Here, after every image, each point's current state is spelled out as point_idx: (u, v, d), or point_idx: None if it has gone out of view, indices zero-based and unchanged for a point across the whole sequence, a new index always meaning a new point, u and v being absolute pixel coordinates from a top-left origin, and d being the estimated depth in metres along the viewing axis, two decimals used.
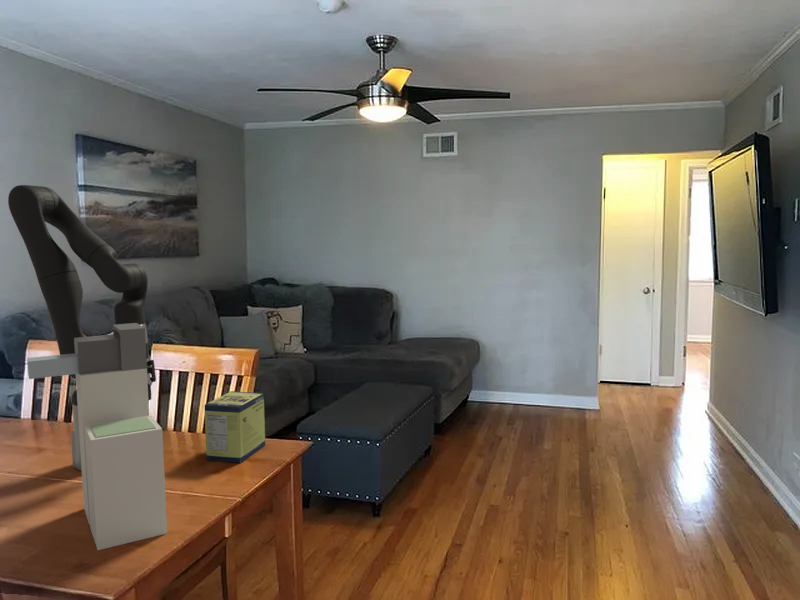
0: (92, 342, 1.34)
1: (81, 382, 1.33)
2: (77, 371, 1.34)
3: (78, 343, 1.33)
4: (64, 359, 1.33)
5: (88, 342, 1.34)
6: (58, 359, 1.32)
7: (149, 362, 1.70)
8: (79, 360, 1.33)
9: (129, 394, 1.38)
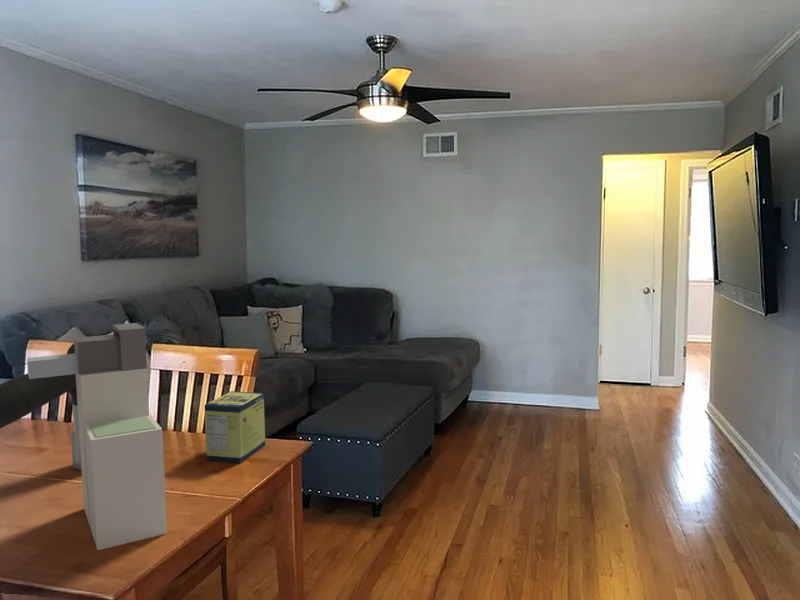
0: (92, 342, 1.34)
1: (81, 382, 1.33)
2: (77, 371, 1.34)
3: (78, 343, 1.33)
4: (64, 359, 1.33)
5: (88, 342, 1.34)
6: (58, 359, 1.32)
7: None
8: (79, 360, 1.33)
9: (129, 394, 1.38)
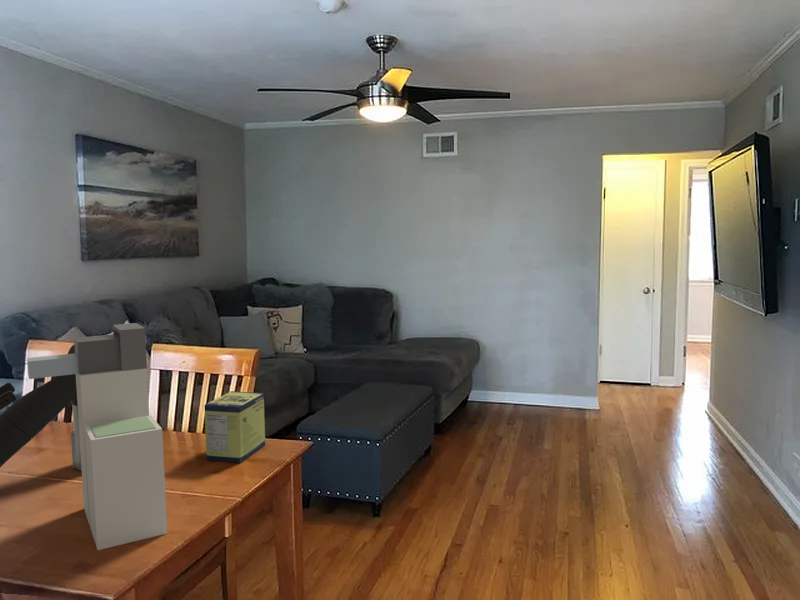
0: (92, 342, 1.34)
1: (81, 382, 1.33)
2: (77, 371, 1.34)
3: (78, 343, 1.33)
4: (64, 359, 1.33)
5: (88, 342, 1.34)
6: (58, 359, 1.32)
7: None
8: (79, 360, 1.33)
9: (129, 394, 1.38)
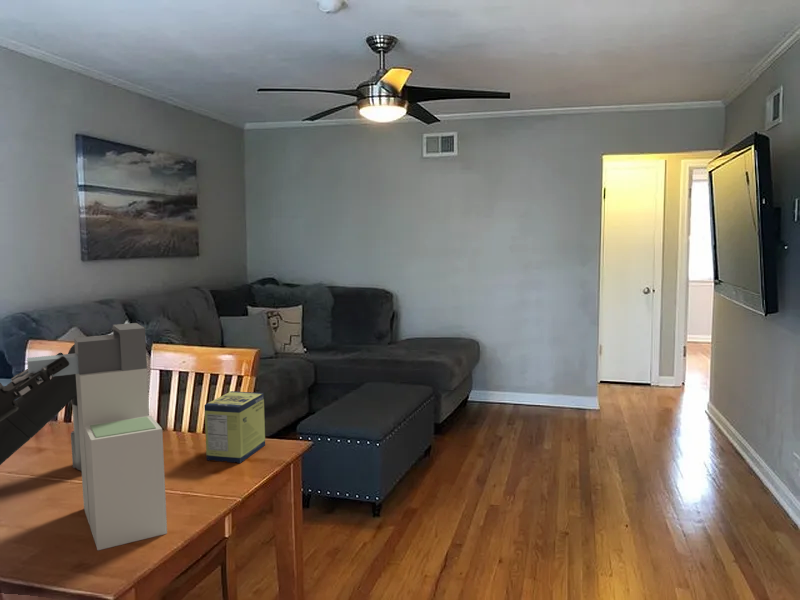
0: (92, 342, 1.34)
1: (81, 382, 1.33)
2: (77, 371, 1.34)
3: (78, 343, 1.33)
4: None
5: (88, 342, 1.34)
6: None
7: None
8: (79, 360, 1.33)
9: (129, 394, 1.38)
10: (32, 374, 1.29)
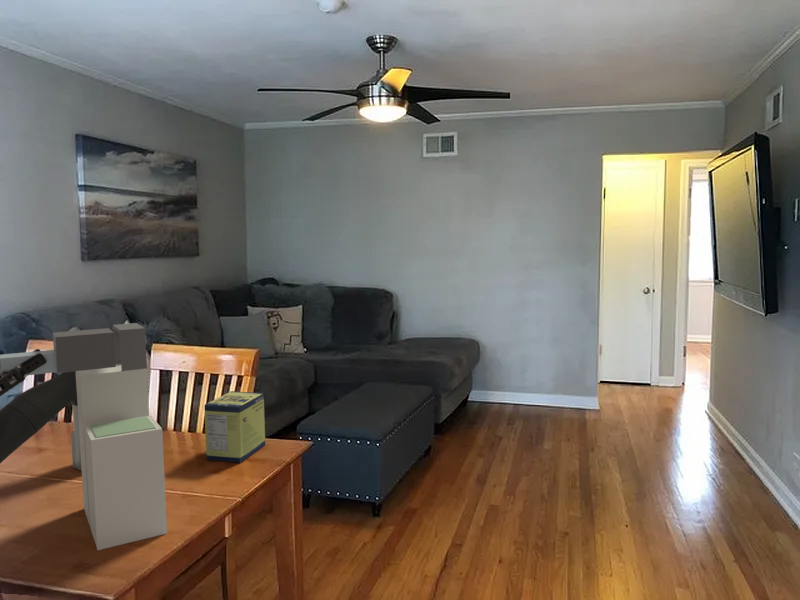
0: (72, 337, 1.21)
1: (81, 382, 1.33)
2: (55, 369, 1.21)
3: (56, 338, 1.20)
4: None
5: (67, 337, 1.21)
6: None
7: None
8: (57, 357, 1.20)
9: (129, 394, 1.38)
10: (4, 373, 1.16)
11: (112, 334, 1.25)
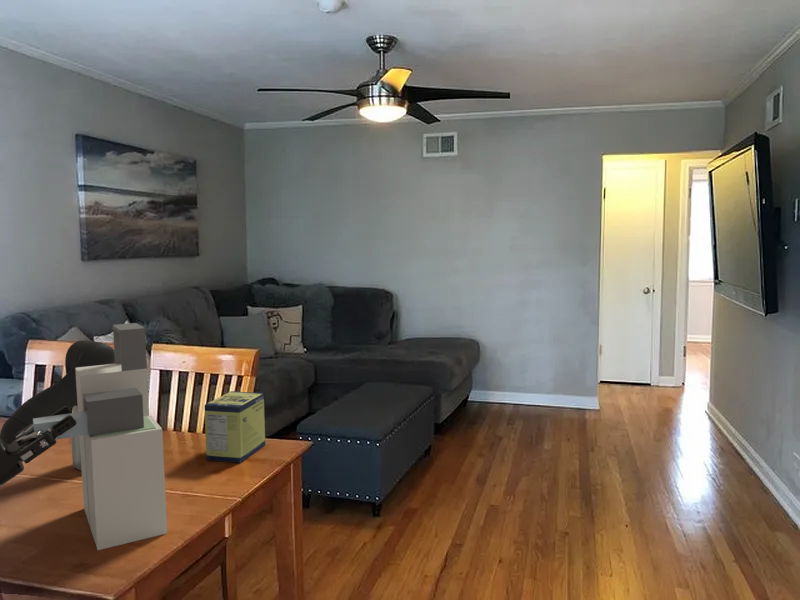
0: (103, 401, 1.25)
1: (81, 382, 1.33)
2: (87, 432, 1.25)
3: (88, 403, 1.24)
4: None
5: (98, 401, 1.25)
6: None
7: None
8: (89, 421, 1.24)
9: None
10: (36, 435, 1.19)
11: (141, 396, 1.29)
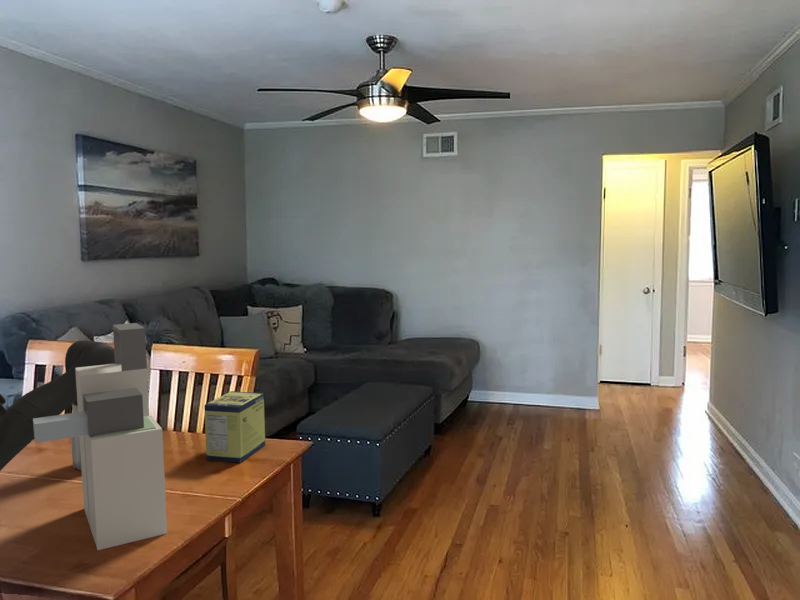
0: (103, 401, 1.25)
1: (81, 382, 1.33)
2: (87, 432, 1.25)
3: (88, 403, 1.24)
4: (73, 420, 1.24)
5: (98, 401, 1.25)
6: (66, 420, 1.23)
7: None
8: (89, 421, 1.24)
9: None
10: None
11: (141, 396, 1.29)
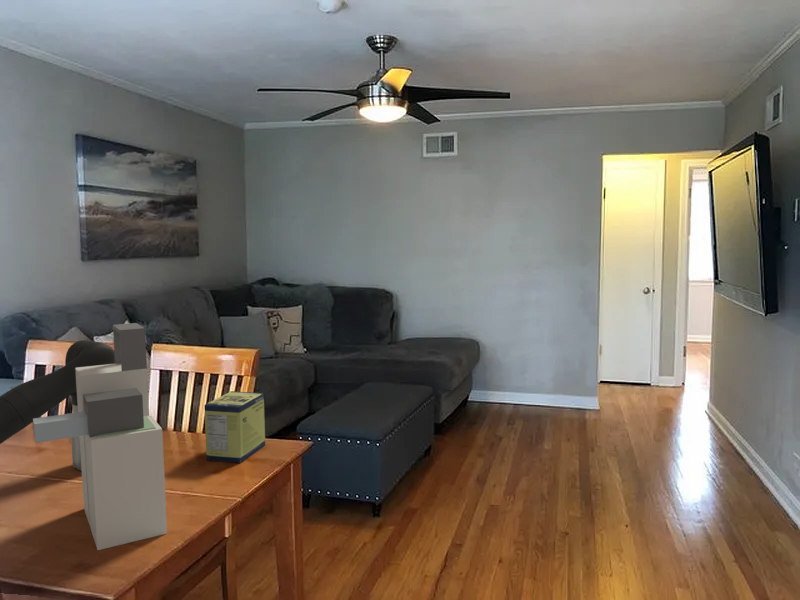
0: (103, 401, 1.25)
1: (81, 382, 1.33)
2: (87, 432, 1.25)
3: (88, 403, 1.24)
4: (73, 420, 1.24)
5: (98, 401, 1.25)
6: (66, 420, 1.23)
7: None
8: (89, 421, 1.24)
9: None
10: None
11: (141, 396, 1.29)
